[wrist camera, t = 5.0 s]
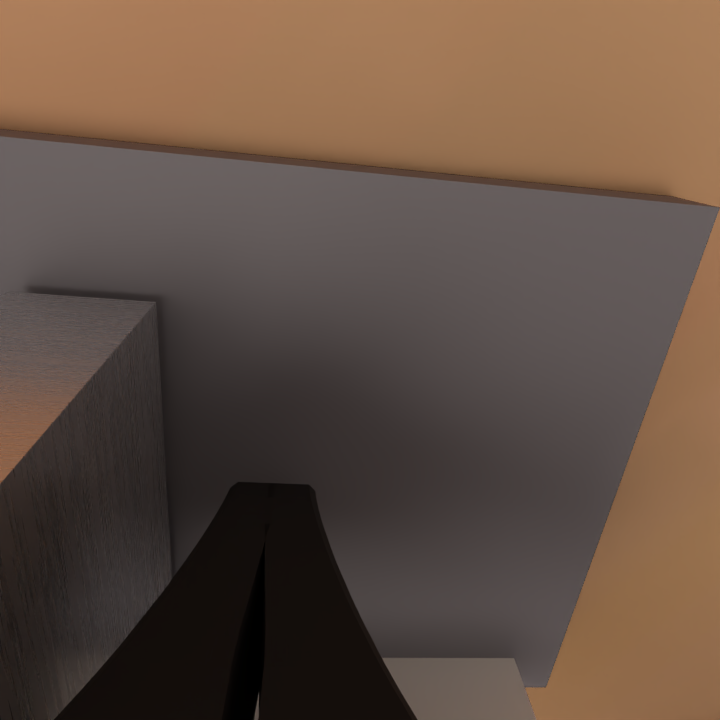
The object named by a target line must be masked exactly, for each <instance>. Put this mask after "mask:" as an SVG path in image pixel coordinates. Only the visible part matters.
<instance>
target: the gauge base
mask: <svg viewBox="0 0 720 720" xmlns="http://www.w3.org/2000/svg"><path fill="white" fill-rule="evenodd" d="M718 211H719V207H715V206H711V205H707V204H702V203H698V202H694V201H689V200H685V199H681V198H677V197H672V196H662V195H652V194H642V193H632V192H622V191H612V190H602V189H592V188H582V187H572V186H562V185H552V184H542V183H532V182H522V181H512V180H502V179H492V178H482V177H473V176H463V175H453V174H443V173H433V172H423V171H413V170H403V169H393V168H383V167H373V166H363V165H353V164H343V163H333V162H323V161H313V160H303V159H293V158H283V157H273V156H263V155H253V154H243V153H233V152H223V151H213V150H203V149H193V148H183V147H173V146H163V145H153V144H143V143H133V142H124V141H114V140H104V139H94V138H84V137H74V136H64V135H54V134H44V133H34V132H24V131H14V130H4V129H0V296H1V295H3V294H5V293H6V292H22V293H37V294H51V295H65V296H79V297H94V298H108V299H122V300H136V301H151V302H156V309H157V327H158V345H159V362H160V380H161V397H162V415H163V432H164V450H165V467H166V485H167V502H168V520H169V537H170V555H171V572H172V578H173V577H174V576H175V574H176V573H177V571H178V570H179V569H180V567H181V566H182V564H183V563H184V562H185V560H186V559H187V557H188V556H189V555H190V553H191V552H192V550H193V549H194V548H195V546H196V545H197V543H198V542H199V540H200V539H201V537H202V535H203V534H204V532H205V531H206V529H207V528H208V526H209V525H210V523H211V521H212V520H213V518H214V517H215V515H216V513H217V512H218V510H219V508H220V506H221V505H222V503H223V501H224V499H225V497H226V495H227V493H228V491H229V489H230V487H232V486H233V485H234V484H236V483H237V482H257V483H283V484H309V485H310V486H311V487H312V488H313V489H314V490H315V492H316V499H317V504H318V508H319V512H320V516H321V520H322V523H323V526H324V529H325V532H326V535H327V538H328V541H329V544H330V547H331V549H332V552H333V554H334V557H335V560H336V562H337V565H338V567H339V569H340V572H341V574H342V576H343V579H344V581H345V583H346V585H347V588H348V590H349V592H350V595H351V597H352V599H353V601H354V604H355V606H356V608H357V610H358V612H359V614H360V616H361V618H362V620H363V622H364V624H365V626H366V628H367V630H368V632H369V634H370V636H371V638H372V640H373V642H374V644H375V646H376V648H377V650H378V652H379V654H380V655H381V657H382V659H383V661H384V663H385V665H386V666H387V668H388V670H389V672H390V674H391V675H392V677H393V679H394V681H395V683H396V684H397V686H398V688H399V690H400V691H401V693H402V695H403V696H404V698H405V700H406V701H407V703H408V705H409V706H410V708H411V710H412V711H413V713H414V715H415V716H416V718H417V720H536V717H535V715H534V712H533V709H532V706H531V704H530V701H529V698H528V695H527V693H526V690H525V687H546V685H547V683H548V680H549V677H550V674H551V672H552V669H553V666H554V663H555V661H556V658H557V655H558V652H559V650H560V647H561V644H562V641H563V639H564V636H565V633H566V630H567V628H568V625H569V622H570V619H571V617H572V614H573V611H574V608H575V606H576V603H577V600H578V597H579V594H580V592H581V589H582V586H583V583H584V581H585V578H586V575H587V572H588V570H589V567H590V564H591V561H592V559H593V556H594V553H595V550H596V548H597V545H598V542H599V539H600V537H601V534H602V531H603V528H604V526H605V523H606V520H607V517H608V514H609V512H610V509H611V506H612V503H613V501H614V498H615V495H616V492H617V490H618V487H619V484H620V481H621V479H622V476H623V473H624V470H625V468H626V465H627V462H628V459H629V457H630V454H631V451H632V448H633V446H634V443H635V440H636V437H637V434H638V432H639V429H640V426H641V423H642V421H643V418H644V415H645V412H646V410H647V407H648V404H649V401H650V399H651V396H652V393H653V390H654V388H655V385H656V382H657V379H658V377H659V374H660V371H661V368H662V366H663V363H664V360H665V357H666V354H667V352H668V349H669V346H670V343H671V341H672V338H673V335H674V332H675V330H676V327H677V324H678V321H679V319H680V316H681V313H682V310H683V308H684V305H685V302H686V299H687V297H688V294H689V291H690V288H691V286H692V283H693V280H694V277H695V275H696V272H697V269H698V266H699V263H700V261H701V258H702V255H703V252H704V250H705V247H706V244H707V241H708V239H709V236H710V233H711V230H712V228H713V225H714V222H715V219H716V217H717V214H718ZM258 718H259V695H258V700H257V706H256V711H255V717H254V720H258Z"/></svg>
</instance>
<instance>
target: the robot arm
mask: <svg viewBox="0 0 720 720" xmlns="http://www.w3.org/2000/svg"><path fill="white" fill-rule="evenodd" d="M258 695H259V718H258V720H417V718H416V716H415V715H414V713H413V711H412V710H411V708H410V706H409V705H408V703H407V701H406V700H405V698H404V696H403V695H402V693H401V691H400V690H399V688H398V686H397V684H396V683H395V681H394V679H393V677H392V675H391V674H390V672H389V670H388V668H387V666H386V665H385V663H384V661H383V659H382V657H381V655H380V654H379V652H378V650H377V648H376V646H375V644H374V642H373V640H372V638H371V636H370V634H369V632H368V630H367V628H366V626H365V624H364V622H363V620H362V618H361V616H360V614H359V612H358V610H357V608H356V606H355V604H354V601H353V599H352V597H351V595H350V592H349V590H348V588H347V585H346V583H345V581H344V579H343V576H342V574H341V572H340V569H339V567H338V565H337V562H336V560H335V557H334V554H333V552H332V549H331V547H330V544H329V541H328V538H327V535H326V532H325V529H324V526H323V523H322V520H321V516H320V512H319V508H318V504H317V499H316V492H315V490H314V489H313V488H312V487H311V486H310V485H309V484H283V483H257V482H237V483H236V484H234V485H233V486H232V487H230V489H229V491H228V493H227V495H226V497H225V499H224V501H223V503H222V505H221V506H220V508H219V510H218V512H217V513H216V515H215V517H214V518H213V520H212V521H211V523H210V525H209V526H208V528H207V529H206V531H205V532H204V534H203V535H202V537H201V539H200V540H199V542H198V543H197V545H196V546H195V548H194V549H193V550H192V552H191V553H190V555H189V556H188V557H187V559H186V560H185V562H184V563H183V564H182V566H181V567H180V569H179V570H178V571H177V573H176V574H175V576H174V577H173V578H172V580H171V581H170V583H169V584H168V585H167V587H166V588H165V589H164V591H163V592H162V593H161V595H160V596H159V597H158V598H157V600H156V601H155V602H154V603H153V605H152V606H151V607H150V608H149V610H148V611H147V612H146V613H145V615H144V616H143V617H142V618H141V620H140V621H139V622H138V623H137V625H136V626H135V627H134V628H133V630H132V631H131V632H130V633H129V635H128V636H127V637H126V638H125V640H124V641H123V642H122V643H121V645H120V646H119V647H118V648H117V649H116V651H115V652H114V653H113V654H112V655H111V656H110V658H109V659H108V660H107V661H106V662H105V663H104V664H103V666H102V667H101V668H100V669H99V670H98V671H97V673H96V674H95V675H94V676H93V677H92V678H91V679H90V680H89V682H88V683H87V684H86V685H85V686H84V687H83V688H82V689H81V691H80V692H79V693H78V694H77V695H76V696H75V697H74V698H73V699H72V700H71V701H70V702H69V704H68V705H67V706H66V707H65V708H64V709H63V710H62V711H61V712H60V713H59V714H58V715H57V717H56V718H55V719H54V720H254V717H255V711H256V706H257V700H258Z"/></svg>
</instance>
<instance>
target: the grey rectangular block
mask: <svg viewBox="0 0 720 720" xmlns="http://www.w3.org/2000/svg"><path fill="white" fill-rule="evenodd" d="M171 580H172V572H171V555H170V537H169V520H168V502H167V485H166V467H165V450H164V432H163V415H162V397H161V380H160V362H159V345H158V327H157V309H156V302H151V301H136V300H122V299H108V298H94V297H79V296H65V295H51V294H37V293H22V292H6V293H5V294H3V295H1V296H0V720H54V719H55V718H56V717H57V715H58V714H59V713H60V712H61V711H62V710H63V709H64V708H65V707H66V706H67V705H68V704H69V702H70V701H71V700H72V699H73V698H74V697H75V696H76V695H77V694H78V693H79V692H80V691H81V689H82V688H83V687H84V686H85V685H86V684H87V683H88V682H89V680H90V679H91V678H92V677H93V676H94V675H95V674H96V673H97V671H98V670H99V669H100V668H101V667H102V666H103V664H104V663H105V662H106V661H107V660H108V659H109V658H110V656H111V655H112V654H113V653H114V652H115V651H116V649H117V648H118V647H119V646H120V645H121V643H122V642H123V641H124V640H125V638H126V637H127V636H128V635H129V633H130V632H131V631H132V630H133V628H134V627H135V626H136V625H137V623H138V622H139V621H140V620H141V618H142V617H143V616H144V615H145V613H146V612H147V611H148V610H149V608H150V607H151V606H152V605H153V603H154V602H155V601H156V600H157V598H158V597H159V596H160V595H161V593H162V592H163V591H164V589H165V588H166V587H167V585H168V584H169V583H170V581H171Z"/></svg>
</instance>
